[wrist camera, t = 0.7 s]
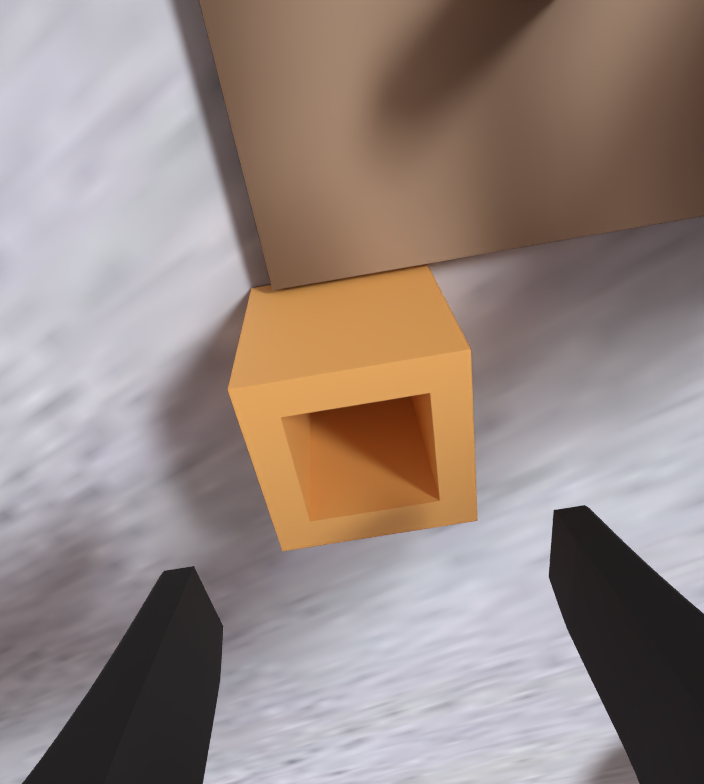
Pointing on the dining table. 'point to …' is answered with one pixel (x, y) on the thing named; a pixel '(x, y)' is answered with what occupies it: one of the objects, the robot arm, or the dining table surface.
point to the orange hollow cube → (357, 407)
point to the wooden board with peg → (457, 124)
